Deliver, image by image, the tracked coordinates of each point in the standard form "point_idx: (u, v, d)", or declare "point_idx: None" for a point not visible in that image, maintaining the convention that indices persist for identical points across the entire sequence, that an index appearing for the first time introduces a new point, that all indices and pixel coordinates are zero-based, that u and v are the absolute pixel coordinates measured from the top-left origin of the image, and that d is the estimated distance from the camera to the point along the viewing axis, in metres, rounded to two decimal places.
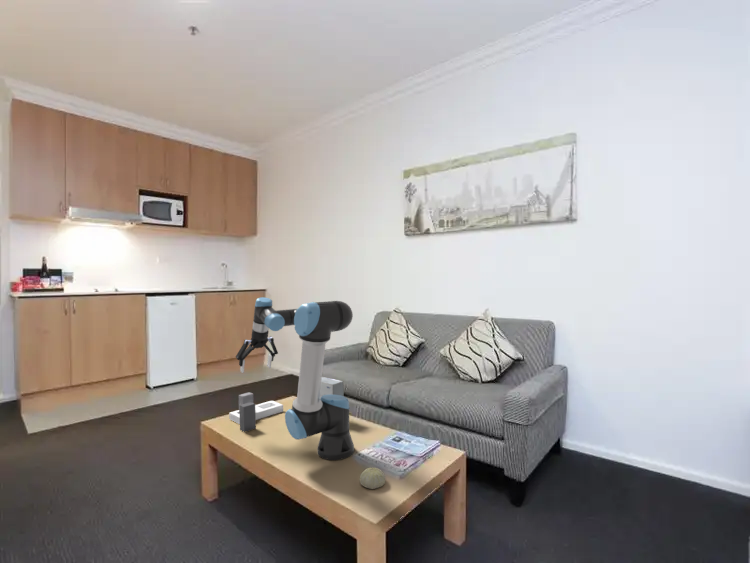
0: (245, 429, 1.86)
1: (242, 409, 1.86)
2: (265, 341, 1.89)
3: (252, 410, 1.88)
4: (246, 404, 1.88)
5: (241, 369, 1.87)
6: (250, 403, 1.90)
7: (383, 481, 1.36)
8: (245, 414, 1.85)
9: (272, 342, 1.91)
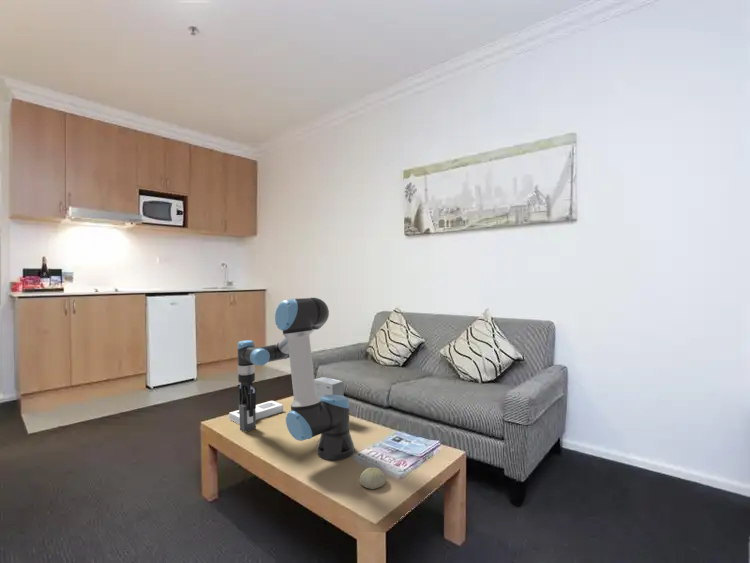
0: (245, 429, 1.86)
1: (242, 409, 1.86)
2: (247, 387, 1.86)
3: None
4: (246, 404, 1.88)
5: None
6: None
7: (383, 481, 1.36)
8: (245, 414, 1.85)
9: (250, 393, 1.84)
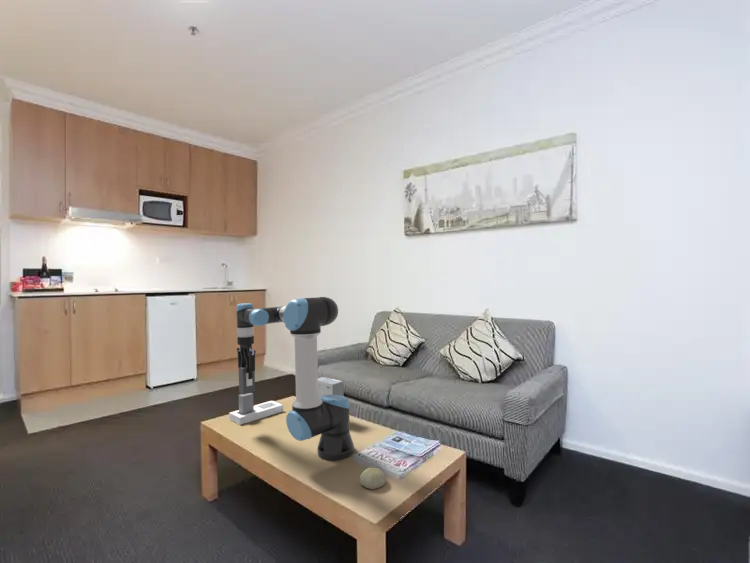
0: (244, 391, 1.85)
1: (241, 372, 1.85)
2: (246, 349, 1.85)
3: None
4: (245, 367, 1.88)
5: None
6: None
7: (383, 481, 1.36)
8: (244, 376, 1.85)
9: (249, 355, 1.83)
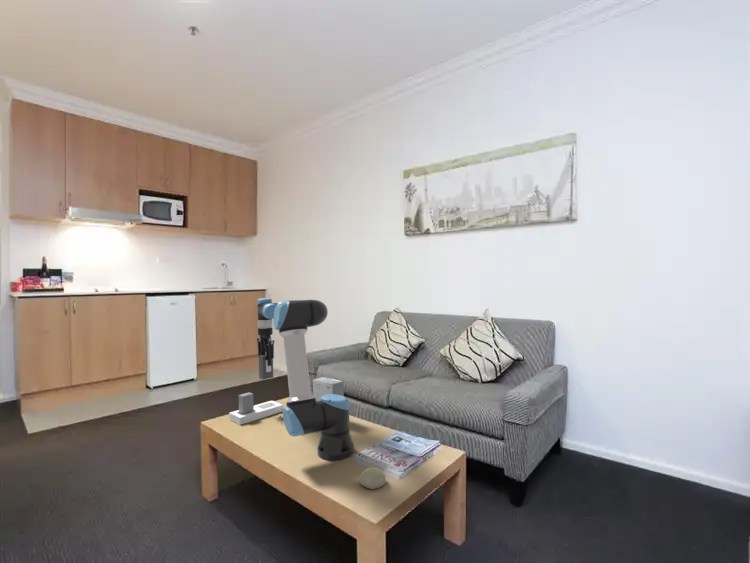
0: (264, 377, 2.08)
1: (261, 359, 2.08)
2: (266, 339, 2.08)
3: None
4: (265, 355, 2.10)
5: None
6: None
7: (383, 481, 1.36)
8: (264, 363, 2.08)
9: (269, 344, 2.06)
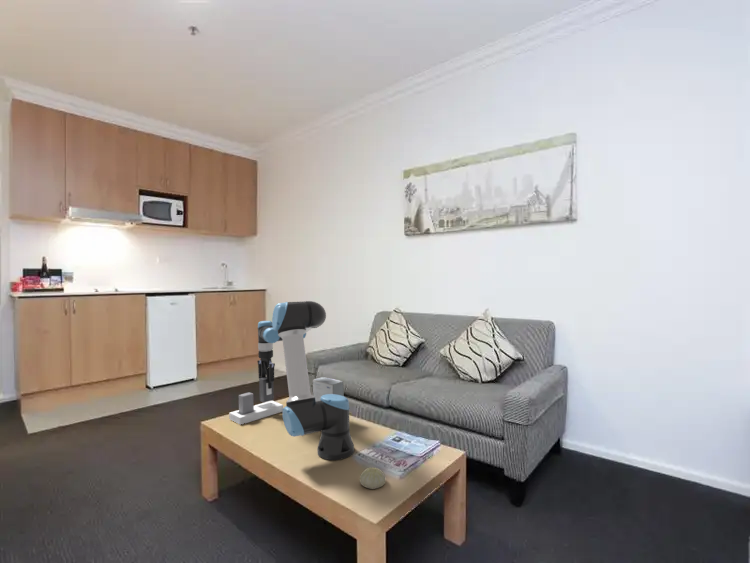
0: (264, 399, 2.08)
1: (261, 382, 2.08)
2: (266, 362, 2.08)
3: None
4: (265, 377, 2.11)
5: None
6: None
7: (383, 481, 1.36)
8: (264, 386, 2.08)
9: (269, 367, 2.06)
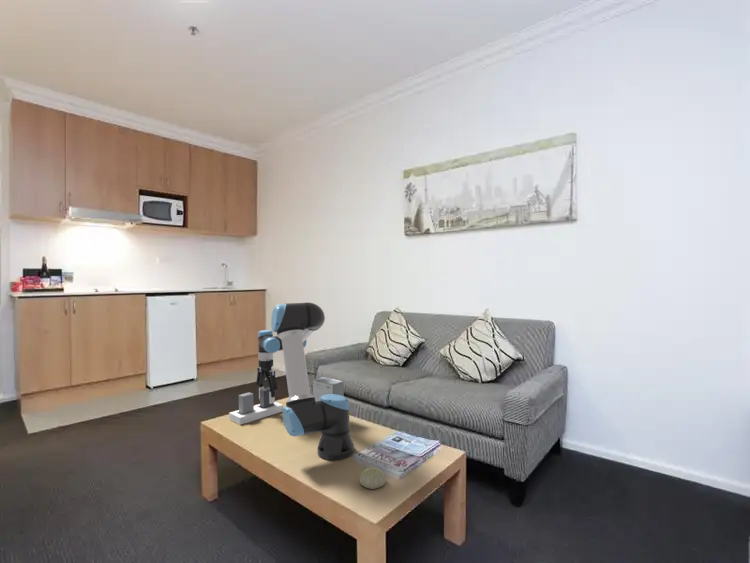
0: None
1: (262, 393, 2.08)
2: (267, 371, 2.08)
3: None
4: (265, 389, 2.11)
5: None
6: (269, 388, 2.12)
7: (383, 481, 1.36)
8: (265, 397, 2.08)
9: (270, 376, 2.06)
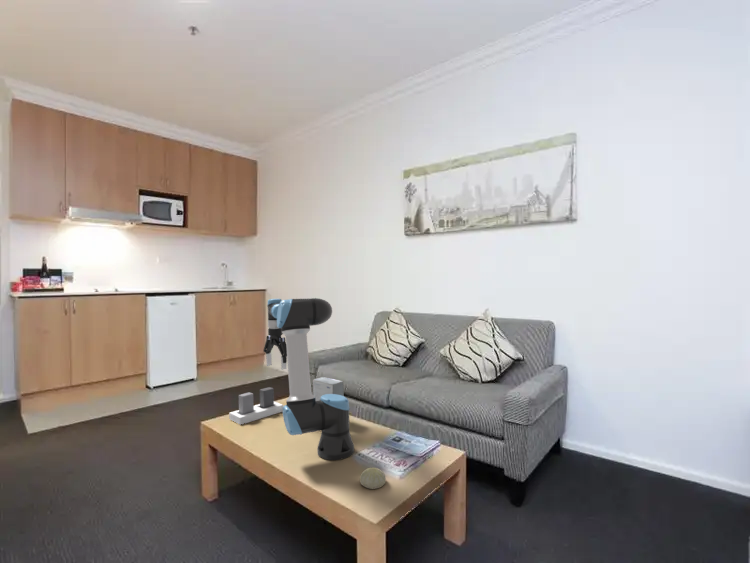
0: None
1: (262, 393, 2.08)
2: (276, 339, 2.08)
3: (270, 394, 2.11)
4: (265, 389, 2.11)
5: None
6: (269, 388, 2.12)
7: (383, 481, 1.36)
8: (265, 397, 2.08)
9: (281, 342, 2.06)
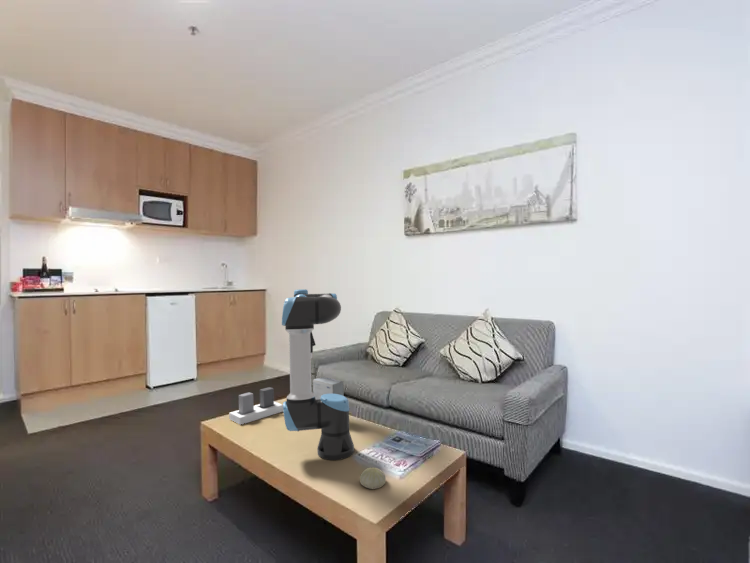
0: None
1: (262, 393, 2.08)
2: None
3: (270, 394, 2.11)
4: (265, 389, 2.11)
5: None
6: (269, 388, 2.12)
7: (383, 481, 1.36)
8: (265, 397, 2.08)
9: None
